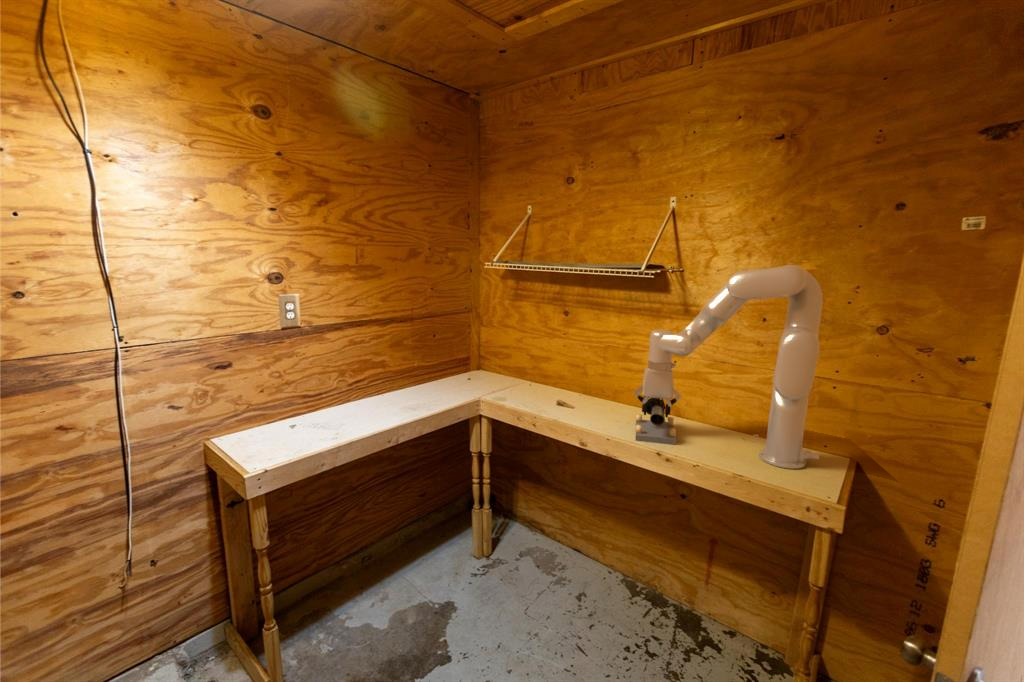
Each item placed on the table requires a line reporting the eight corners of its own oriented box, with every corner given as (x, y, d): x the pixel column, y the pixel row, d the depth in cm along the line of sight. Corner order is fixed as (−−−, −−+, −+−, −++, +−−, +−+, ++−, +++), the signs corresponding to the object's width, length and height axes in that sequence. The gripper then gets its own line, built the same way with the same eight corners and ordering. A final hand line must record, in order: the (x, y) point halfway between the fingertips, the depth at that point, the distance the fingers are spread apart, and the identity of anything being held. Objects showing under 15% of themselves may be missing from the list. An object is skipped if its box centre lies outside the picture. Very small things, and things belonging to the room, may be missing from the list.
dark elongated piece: (664, 427, 152) (665, 411, 151) (643, 424, 154) (644, 408, 153) (665, 409, 169) (666, 395, 168) (646, 407, 171) (646, 393, 170)
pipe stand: (672, 427, 168) (673, 415, 167) (675, 444, 153) (676, 432, 152) (635, 424, 172) (636, 412, 171) (635, 440, 156) (636, 428, 156)
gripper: (685, 365, 159) (680, 414, 162) (633, 361, 163) (630, 409, 167) (687, 370, 152) (682, 421, 155) (633, 366, 156) (629, 416, 160)
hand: (655, 414), depth 161 cm, fingers closed on dark elongated piece, 6 cm apart
